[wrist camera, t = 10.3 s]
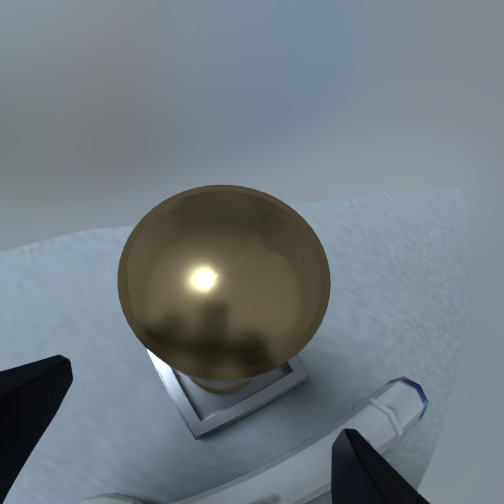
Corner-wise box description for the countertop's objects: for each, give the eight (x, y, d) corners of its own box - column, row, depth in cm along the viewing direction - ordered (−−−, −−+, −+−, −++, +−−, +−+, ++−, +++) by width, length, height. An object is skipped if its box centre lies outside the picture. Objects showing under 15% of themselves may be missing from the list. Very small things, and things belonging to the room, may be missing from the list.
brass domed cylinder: (192, 400, 16) (131, 397, 5) (177, 329, 18) (117, 201, 7) (266, 384, 17) (359, 344, 6) (247, 315, 19) (292, 176, 8)
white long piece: (440, 421, 14) (80, 587, 3) (383, 428, 19) (103, 550, 9) (412, 362, 16) (30, 517, 5) (359, 380, 21) (69, 495, 11)
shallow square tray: (196, 438, 15) (194, 443, 14) (140, 330, 19) (132, 322, 17) (305, 378, 18) (315, 375, 16) (243, 281, 21) (246, 268, 20)
